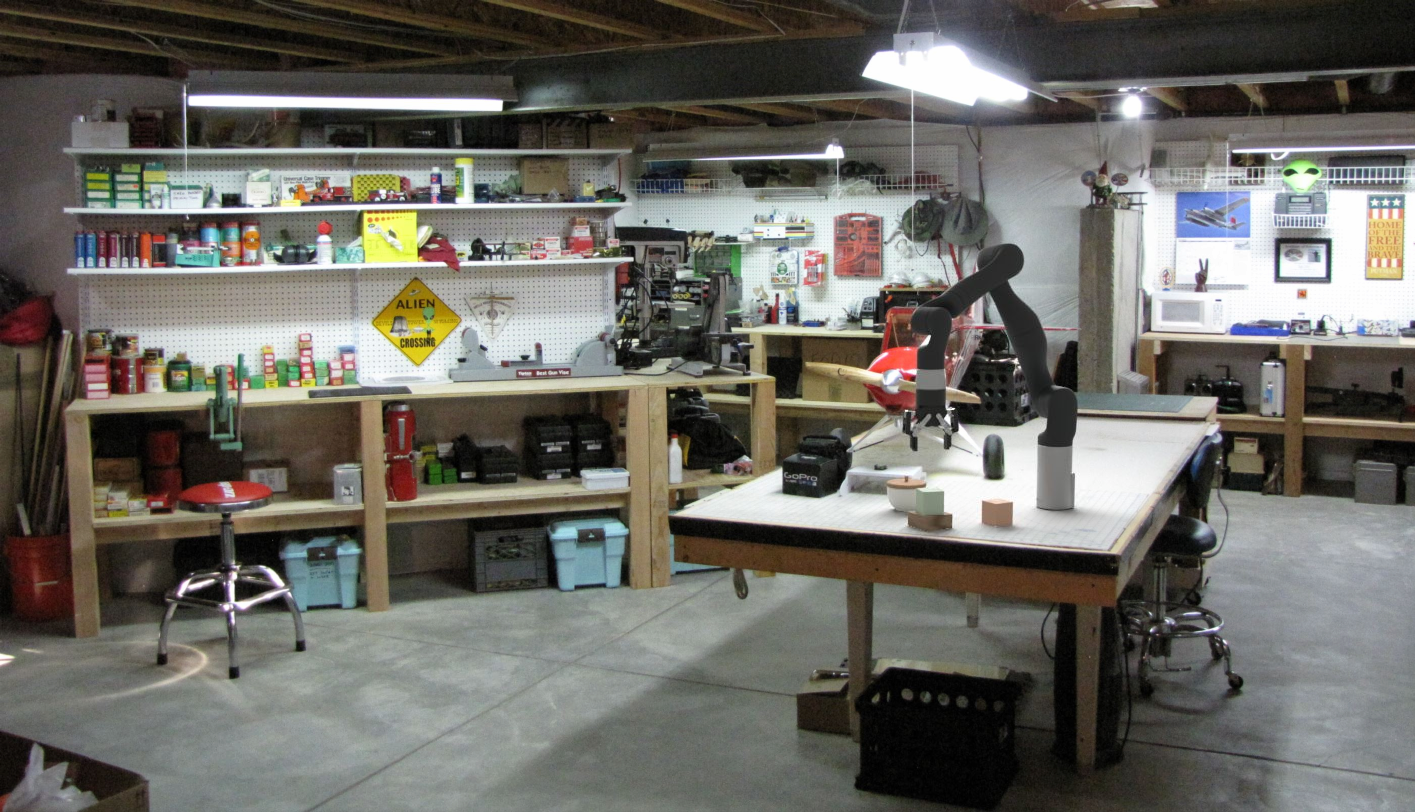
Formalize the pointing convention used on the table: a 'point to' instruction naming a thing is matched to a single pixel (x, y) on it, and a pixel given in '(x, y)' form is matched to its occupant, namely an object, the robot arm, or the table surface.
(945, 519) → the walnut base
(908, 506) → the lidded jar
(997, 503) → the terracotta block
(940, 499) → the sage block
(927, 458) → the table surface
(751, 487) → the table surface
